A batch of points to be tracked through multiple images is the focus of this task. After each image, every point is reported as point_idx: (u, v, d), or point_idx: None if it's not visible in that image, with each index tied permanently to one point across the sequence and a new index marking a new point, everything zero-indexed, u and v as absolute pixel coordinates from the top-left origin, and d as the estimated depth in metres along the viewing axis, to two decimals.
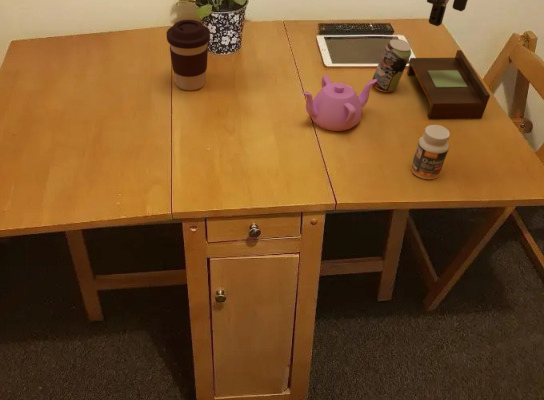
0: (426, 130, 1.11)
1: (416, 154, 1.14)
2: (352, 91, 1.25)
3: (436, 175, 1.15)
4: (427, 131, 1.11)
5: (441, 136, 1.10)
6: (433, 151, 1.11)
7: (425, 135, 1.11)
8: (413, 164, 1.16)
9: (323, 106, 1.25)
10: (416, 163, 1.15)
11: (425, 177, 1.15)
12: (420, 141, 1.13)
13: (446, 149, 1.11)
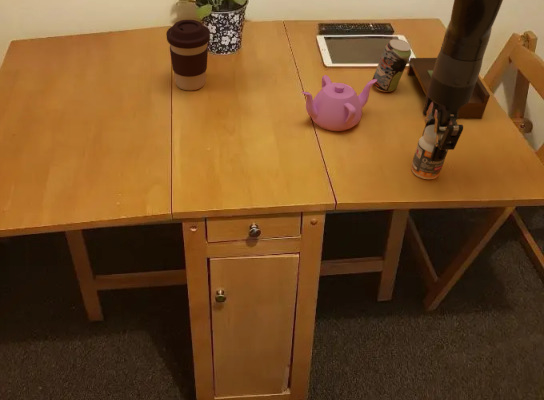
0: (426, 130, 1.11)
1: (416, 154, 1.14)
2: (352, 91, 1.25)
3: (436, 175, 1.15)
4: (427, 131, 1.11)
5: (441, 136, 1.10)
6: None
7: (425, 135, 1.11)
8: (413, 164, 1.16)
9: (323, 106, 1.25)
10: (416, 163, 1.15)
11: (425, 177, 1.15)
12: (420, 141, 1.13)
13: None
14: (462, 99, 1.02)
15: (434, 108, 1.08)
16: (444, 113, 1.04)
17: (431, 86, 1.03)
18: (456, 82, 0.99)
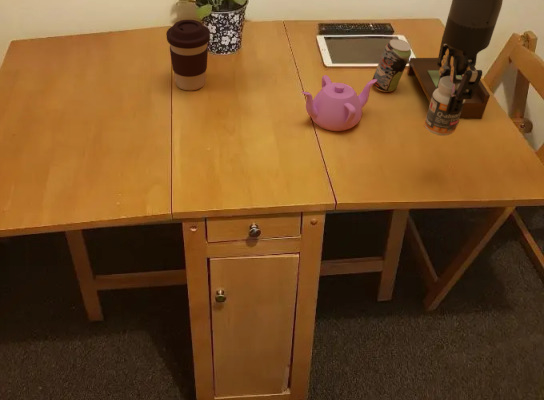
0: (441, 81, 1.03)
1: (430, 108, 1.07)
2: (352, 91, 1.25)
3: (452, 131, 1.07)
4: (442, 82, 1.03)
5: None
6: None
7: (440, 86, 1.03)
8: (427, 120, 1.08)
9: (323, 106, 1.25)
10: (430, 118, 1.07)
11: (440, 133, 1.07)
12: (434, 94, 1.05)
13: (463, 101, 1.04)
14: (481, 42, 0.94)
15: (450, 56, 1.01)
16: (461, 58, 0.97)
17: (447, 29, 0.96)
18: (475, 22, 0.92)
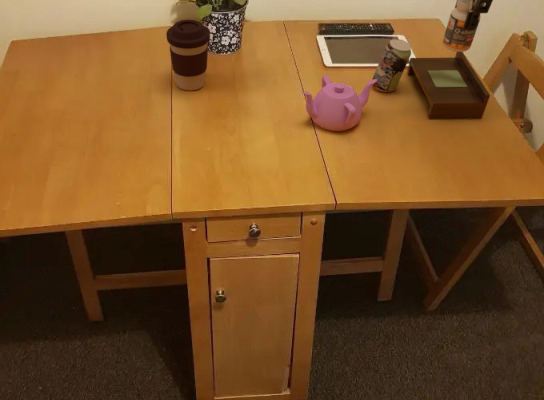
0: (459, 0, 1.15)
1: (448, 26, 1.19)
2: (352, 91, 1.25)
3: (467, 47, 1.19)
4: (460, 0, 1.15)
5: None
6: None
7: (458, 4, 1.15)
8: (445, 38, 1.20)
9: (323, 106, 1.25)
10: (448, 35, 1.19)
11: (457, 49, 1.19)
12: (453, 12, 1.17)
13: None
14: None
15: None
16: None
17: None
18: None
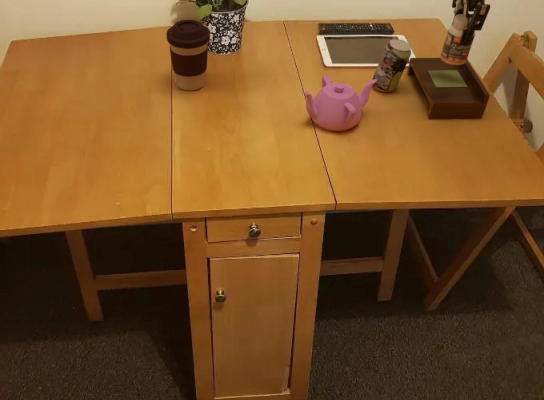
0: (455, 17, 1.25)
1: (446, 42, 1.29)
2: (352, 91, 1.25)
3: (463, 61, 1.29)
4: (456, 18, 1.25)
5: (469, 21, 1.24)
6: None
7: (454, 22, 1.25)
8: (443, 52, 1.30)
9: (323, 106, 1.25)
10: (445, 50, 1.29)
11: (453, 63, 1.29)
12: (449, 29, 1.27)
13: None
14: None
15: None
16: None
17: None
18: None
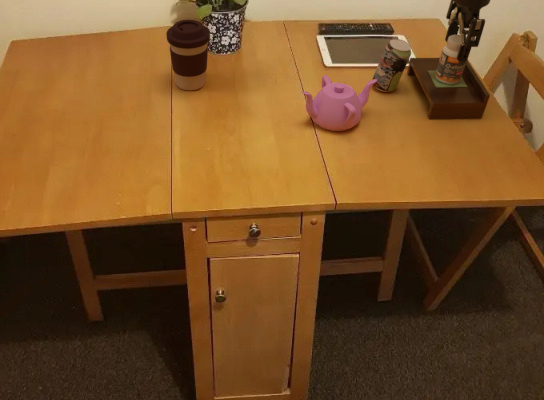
0: (449, 38, 1.29)
1: (440, 61, 1.32)
2: (352, 91, 1.25)
3: (457, 80, 1.33)
4: (450, 39, 1.28)
5: None
6: (455, 56, 1.28)
7: (448, 42, 1.28)
8: (437, 71, 1.34)
9: (323, 106, 1.25)
10: (440, 69, 1.32)
11: (448, 82, 1.33)
12: (444, 49, 1.30)
13: None
14: (483, 0, 1.19)
15: (457, 13, 1.25)
16: (467, 14, 1.21)
17: None
18: None
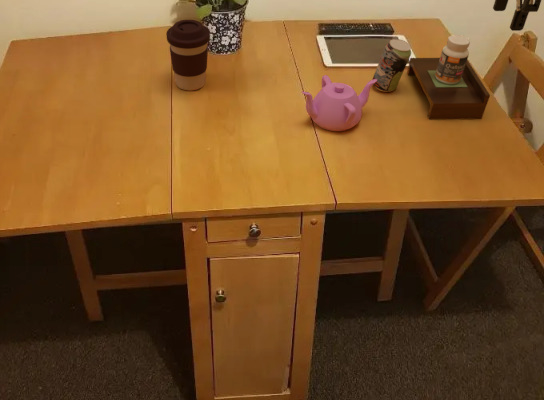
0: (449, 38, 1.29)
1: (440, 61, 1.32)
2: (352, 91, 1.25)
3: (457, 80, 1.33)
4: (450, 39, 1.28)
5: (463, 42, 1.27)
6: (455, 56, 1.28)
7: (448, 42, 1.28)
8: (437, 71, 1.34)
9: (323, 106, 1.25)
10: (440, 69, 1.32)
11: (448, 82, 1.33)
12: (444, 49, 1.30)
13: (466, 55, 1.29)
14: None
15: None
16: None
17: None
18: None
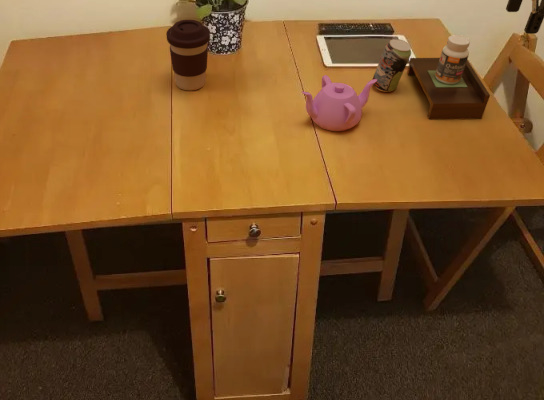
0: (449, 38, 1.29)
1: (440, 61, 1.32)
2: (352, 91, 1.25)
3: (457, 80, 1.33)
4: (450, 39, 1.28)
5: (463, 42, 1.27)
6: (455, 56, 1.28)
7: (448, 42, 1.28)
8: (437, 71, 1.34)
9: (323, 106, 1.25)
10: (440, 69, 1.32)
11: (448, 82, 1.33)
12: (444, 49, 1.30)
13: (466, 55, 1.29)
14: None
15: None
16: None
17: None
18: None
